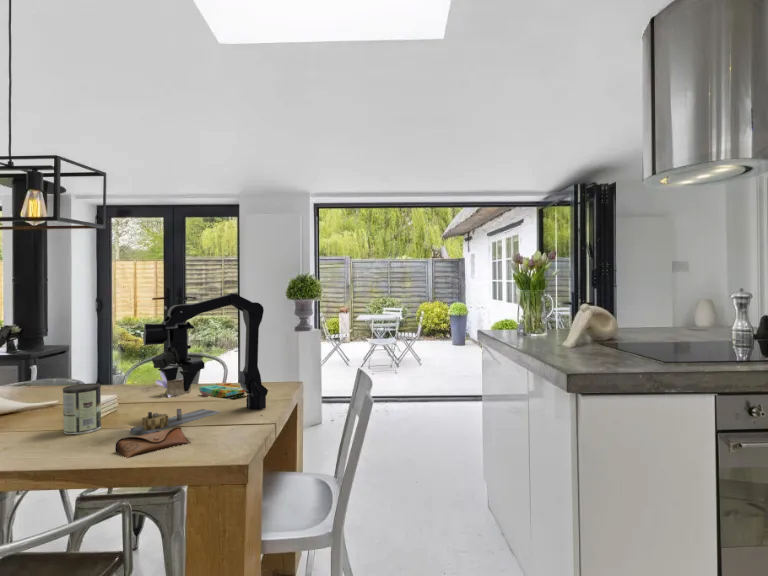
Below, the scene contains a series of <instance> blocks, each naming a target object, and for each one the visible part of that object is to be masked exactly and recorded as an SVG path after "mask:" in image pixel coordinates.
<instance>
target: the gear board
mask: <svg viewBox="0 0 768 576" xmlns="http://www.w3.org/2000/svg"><path fill="white" fill-rule="evenodd" d="M221 413H222V411H218V410H211V409H205V408H202V409H197V410H194V411H190V412H187V413H183V414H182V408H177V409H176V416H172V417H169V415H168V414H165V413H164V414H162V413H161V414H160V413H158V412H154V413H153V412H152V411H149V412H147V416H145V417H142V422H141V423H142V425H140V426H139V425H138V426H135V427H132V428H130V434H132V435H135V436H140V435H145V434H150V433H155V432H160V431H164V430H166V429H168V428H172V427H173V428H174V427H177V426H180V425H182V424H186V423H190V422H193V421H198V420H200V419H203V418H207V417H211V416H214V415H218V414H221Z"/></svg>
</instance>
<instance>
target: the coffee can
mask: <svg viewBox="0 0 768 576" xmlns="http://www.w3.org/2000/svg"><path fill="white" fill-rule="evenodd" d="M101 388H102V384H101V383H99V382H98V383H95V382H91V383H81V384H73V385H69V386H65V387H63V388H62V400H63V402H62V404H63V405H62V406H63V407H62V409H63V410H62V411H63V412H62V413H63V432H64V433H65V434H64V433H63V434H64V435H66V434H79V435H85V434H84V433H86V434H90V433H94V432H97V431H98V430H99V431H100V430H101V429H102V415H101V414H102V412H101V411H102V406H101V405H102V404H101V397H102V396H101ZM89 432H90V433H89Z"/></svg>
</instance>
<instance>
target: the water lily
mask: <svg viewBox="0 0 768 576" xmlns="http://www.w3.org/2000/svg"><path fill="white" fill-rule="evenodd" d="M159 375H160V376H161V377H160V378H161V379H162V380H160V379H158V380H155V381H154V383H156V384H157V385H158V386H160V387H163V388H165V389H166V391H165V392H164V393H166V394H167V379H166V377H165V375H164V373H162V372H161V371H159ZM179 379H183V377H182V378H179ZM179 379H178V380H179ZM170 396H172V397H173V395H167V397H168V398H169V397H170Z"/></svg>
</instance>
